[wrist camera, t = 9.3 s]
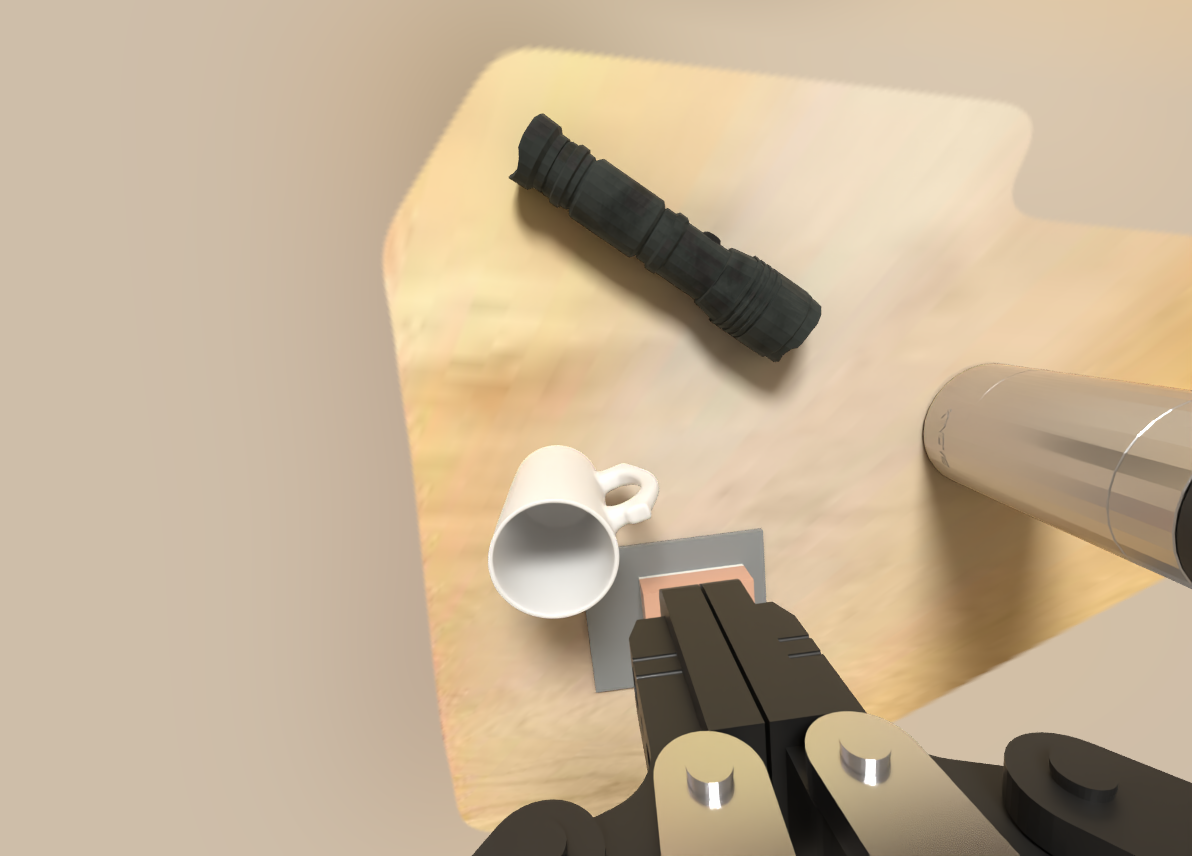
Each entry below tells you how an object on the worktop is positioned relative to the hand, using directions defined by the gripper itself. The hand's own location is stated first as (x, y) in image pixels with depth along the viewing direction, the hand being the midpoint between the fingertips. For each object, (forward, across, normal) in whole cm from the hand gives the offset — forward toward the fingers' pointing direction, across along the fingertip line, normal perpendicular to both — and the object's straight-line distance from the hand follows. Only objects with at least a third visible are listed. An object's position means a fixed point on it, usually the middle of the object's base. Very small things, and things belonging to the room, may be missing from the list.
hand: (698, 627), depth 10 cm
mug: (+29, +2, +6) cm, 30 cm away
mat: (+29, -4, +18) cm, 34 cm away
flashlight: (+30, -5, -9) cm, 31 cm away
